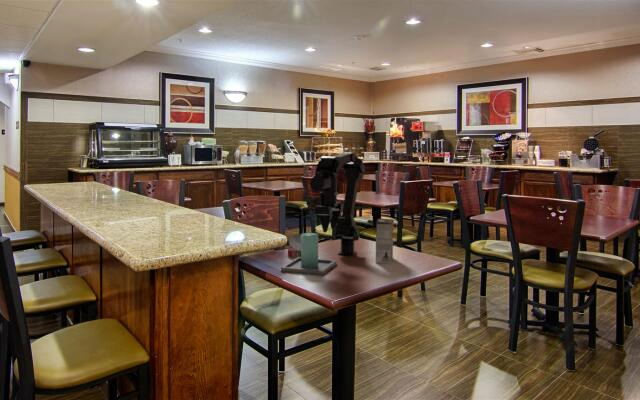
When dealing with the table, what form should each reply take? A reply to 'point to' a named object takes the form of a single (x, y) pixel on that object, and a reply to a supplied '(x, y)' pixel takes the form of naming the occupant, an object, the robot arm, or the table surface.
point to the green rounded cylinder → (309, 250)
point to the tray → (320, 270)
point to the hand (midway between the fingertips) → (328, 230)
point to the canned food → (295, 246)
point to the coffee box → (384, 241)
